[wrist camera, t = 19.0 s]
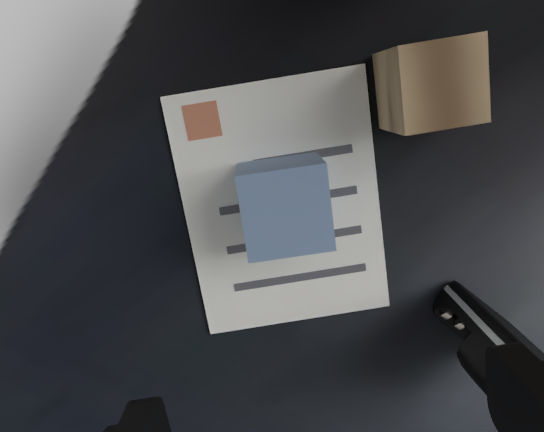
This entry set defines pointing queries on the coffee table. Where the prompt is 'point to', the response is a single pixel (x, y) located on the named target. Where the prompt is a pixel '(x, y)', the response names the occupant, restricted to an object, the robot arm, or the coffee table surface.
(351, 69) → the letter
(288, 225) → the blue cube
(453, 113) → the oak block
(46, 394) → the coffee table surface
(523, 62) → the coffee table surface
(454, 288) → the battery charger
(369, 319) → the coffee table surface
